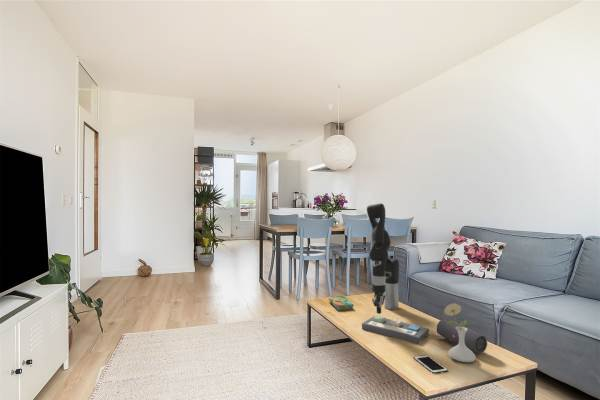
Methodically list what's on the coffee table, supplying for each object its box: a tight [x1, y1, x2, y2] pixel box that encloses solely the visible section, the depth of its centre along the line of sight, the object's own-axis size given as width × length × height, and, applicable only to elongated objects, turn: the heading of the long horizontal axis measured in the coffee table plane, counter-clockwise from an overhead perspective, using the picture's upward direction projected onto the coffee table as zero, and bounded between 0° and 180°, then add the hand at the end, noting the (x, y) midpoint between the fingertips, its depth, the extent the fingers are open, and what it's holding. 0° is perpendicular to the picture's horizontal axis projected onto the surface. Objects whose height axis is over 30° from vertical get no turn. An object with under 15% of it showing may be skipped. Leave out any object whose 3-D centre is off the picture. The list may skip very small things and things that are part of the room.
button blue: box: [408, 324, 420, 332], centre depth 175 cm, size 5×5×4 cm
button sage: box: [374, 315, 386, 323], centre depth 188 cm, size 5×5×4 cm
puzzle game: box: [327, 295, 355, 311], centre depth 226 cm, size 12×5×20 cm
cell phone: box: [413, 354, 449, 374], centre depth 143 cm, size 8×15×1 cm, turn 14°
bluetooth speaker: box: [436, 319, 488, 354], centre depth 161 cm, size 23×9×10 cm, turn 23°
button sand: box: [390, 318, 403, 327], centre depth 181 cm, size 5×5×4 cm
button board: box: [361, 315, 430, 345], centre depth 180 cm, size 16×32×4 cm, turn 51°
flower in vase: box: [443, 303, 477, 363], centre depth 148 cm, size 13×11×25 cm
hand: (378, 313), depth 188 cm, fingers closed
